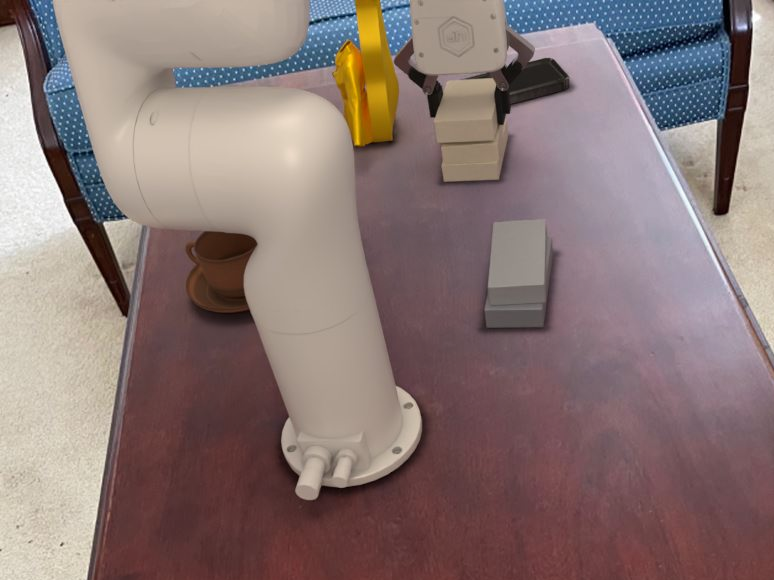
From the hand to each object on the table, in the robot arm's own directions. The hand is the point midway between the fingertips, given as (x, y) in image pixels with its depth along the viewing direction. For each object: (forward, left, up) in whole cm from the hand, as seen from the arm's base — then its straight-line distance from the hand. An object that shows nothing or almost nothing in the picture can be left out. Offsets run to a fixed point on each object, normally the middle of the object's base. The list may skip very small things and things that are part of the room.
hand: (471, 119), depth 110 cm
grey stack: (-26, -8, -5) cm, 28 cm away
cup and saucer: (-25, +22, -5) cm, 34 cm away
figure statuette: (+7, +14, -5) cm, 17 cm away
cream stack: (0, 0, -5) cm, 5 cm away
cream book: (0, 0, 0) cm, 0 cm away
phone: (+17, -2, -5) cm, 18 cm away
